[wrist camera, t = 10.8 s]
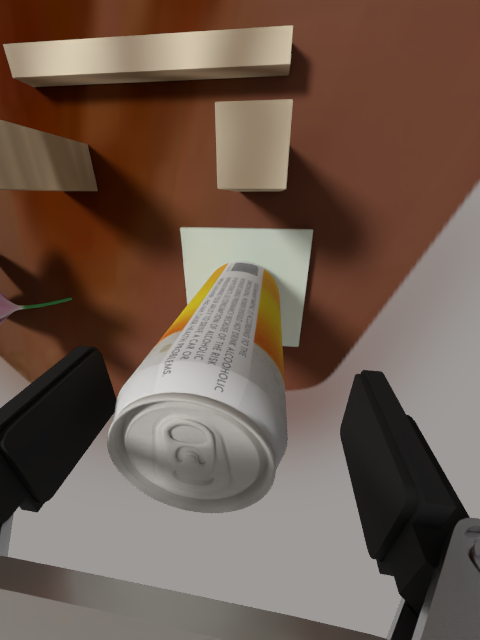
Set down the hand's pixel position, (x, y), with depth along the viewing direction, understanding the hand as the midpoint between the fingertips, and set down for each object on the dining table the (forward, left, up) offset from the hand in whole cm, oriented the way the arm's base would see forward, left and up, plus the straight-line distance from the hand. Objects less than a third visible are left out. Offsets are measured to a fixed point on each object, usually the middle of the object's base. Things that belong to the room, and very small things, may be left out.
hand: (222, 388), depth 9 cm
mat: (0, +1, -13) cm, 13 cm away
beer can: (+1, +1, -13) cm, 13 cm away
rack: (+6, -11, -13) cm, 18 cm away
